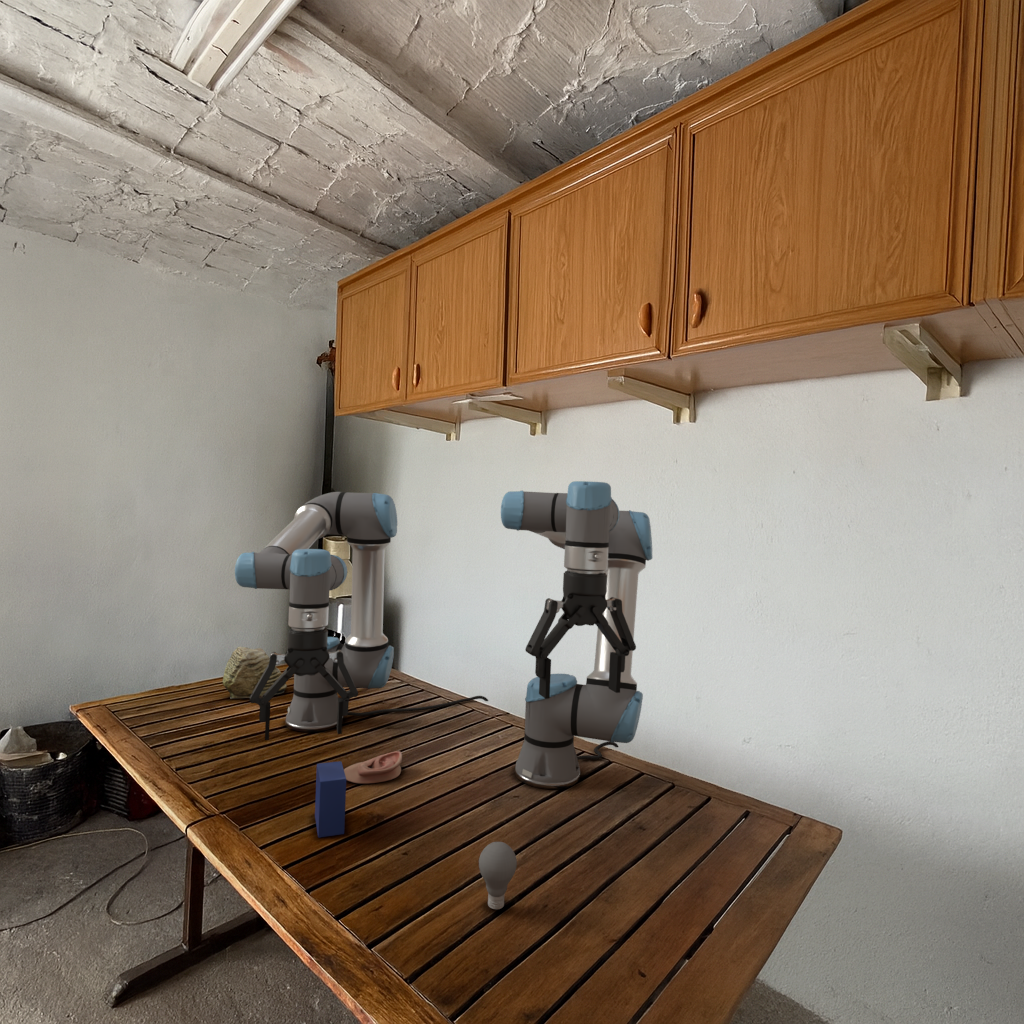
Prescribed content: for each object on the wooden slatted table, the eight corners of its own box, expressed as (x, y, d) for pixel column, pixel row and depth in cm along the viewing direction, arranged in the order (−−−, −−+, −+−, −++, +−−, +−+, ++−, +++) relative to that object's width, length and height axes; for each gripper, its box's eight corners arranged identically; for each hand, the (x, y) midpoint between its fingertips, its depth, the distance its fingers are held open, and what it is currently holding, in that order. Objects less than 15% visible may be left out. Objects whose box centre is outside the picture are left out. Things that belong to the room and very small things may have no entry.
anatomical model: (332, 762, 141) (355, 743, 152) (332, 780, 141) (355, 759, 153) (388, 770, 139) (407, 750, 150) (388, 788, 139) (407, 766, 150)
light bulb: (476, 895, 103) (478, 834, 102) (513, 894, 103) (515, 834, 103) (477, 919, 97) (480, 854, 96) (516, 919, 97) (519, 854, 97)
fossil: (218, 695, 195) (220, 647, 195) (278, 685, 208) (279, 640, 207) (228, 703, 189) (230, 653, 188) (289, 692, 201) (290, 645, 201)
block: (314, 816, 126) (316, 763, 125) (339, 813, 127) (341, 761, 127) (318, 838, 118) (320, 781, 118) (344, 834, 120) (346, 778, 119)
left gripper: (238, 633, 117) (233, 747, 117) (374, 629, 126) (370, 736, 126) (240, 625, 124) (236, 733, 124) (369, 622, 133) (365, 723, 133)
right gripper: (527, 573, 101) (521, 705, 101) (659, 573, 110) (653, 694, 111) (510, 568, 108) (504, 691, 108) (635, 568, 117) (630, 682, 118)
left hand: (303, 734), depth 125 cm, fingers open, 13 cm apart
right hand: (579, 693), depth 110 cm, fingers open, 13 cm apart
